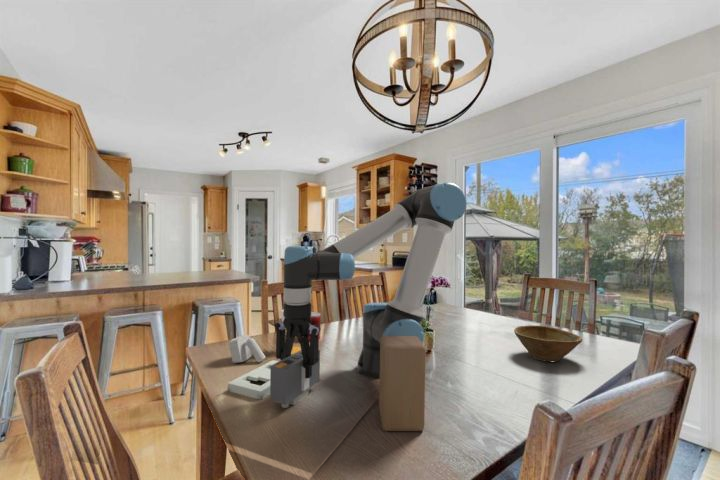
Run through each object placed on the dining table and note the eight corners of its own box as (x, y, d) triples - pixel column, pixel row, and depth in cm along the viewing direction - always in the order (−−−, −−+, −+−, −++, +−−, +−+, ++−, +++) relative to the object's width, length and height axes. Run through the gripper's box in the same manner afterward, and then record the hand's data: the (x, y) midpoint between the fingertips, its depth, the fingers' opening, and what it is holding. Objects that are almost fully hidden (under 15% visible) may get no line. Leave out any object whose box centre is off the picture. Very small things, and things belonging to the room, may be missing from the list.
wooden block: (416, 410, 89) (418, 334, 88) (425, 432, 79) (426, 347, 78) (378, 410, 88) (380, 334, 88) (382, 432, 78) (384, 347, 78)
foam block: (308, 396, 95) (308, 386, 95) (293, 408, 89) (294, 396, 89) (297, 394, 97) (298, 383, 97) (282, 405, 90) (282, 394, 90)
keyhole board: (302, 375, 110) (302, 366, 110) (260, 402, 92) (260, 391, 91) (272, 368, 115) (273, 360, 115) (227, 393, 96) (227, 383, 96)
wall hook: (260, 365, 116) (254, 336, 117) (234, 369, 118) (228, 341, 119) (271, 357, 124) (265, 330, 125) (246, 361, 126) (240, 335, 127)
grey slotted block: (319, 387, 99) (319, 348, 99) (286, 413, 84) (286, 368, 84) (305, 384, 101) (305, 346, 101) (270, 409, 87) (270, 364, 86)
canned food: (311, 334, 155) (312, 311, 155) (323, 338, 150) (324, 313, 150) (298, 338, 149) (299, 313, 149) (311, 342, 144) (311, 316, 144)
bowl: (590, 373, 115) (590, 344, 115) (516, 364, 123) (517, 337, 123) (572, 353, 136) (573, 328, 136) (510, 346, 143) (511, 322, 143)
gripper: (333, 303, 92) (332, 387, 92) (279, 297, 100) (278, 375, 100) (318, 308, 85) (317, 399, 86) (262, 301, 93) (261, 385, 93)
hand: (296, 386), depth 93 cm, fingers closed on grey slotted block, 5 cm apart
